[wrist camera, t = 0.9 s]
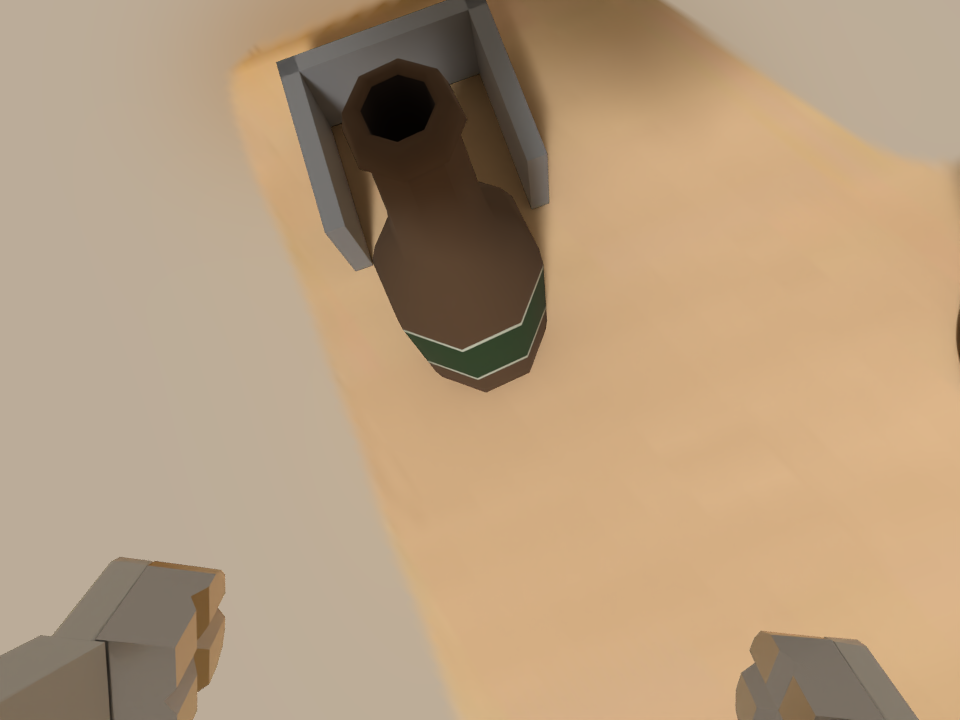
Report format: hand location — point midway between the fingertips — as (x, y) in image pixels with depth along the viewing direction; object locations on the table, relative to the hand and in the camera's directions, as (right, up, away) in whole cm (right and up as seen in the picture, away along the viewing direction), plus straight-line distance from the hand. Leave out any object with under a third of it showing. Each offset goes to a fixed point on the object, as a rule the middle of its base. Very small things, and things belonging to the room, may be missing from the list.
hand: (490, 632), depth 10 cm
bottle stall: (-4, +18, +36) cm, 40 cm away
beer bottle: (0, +6, +33) cm, 33 cm away
